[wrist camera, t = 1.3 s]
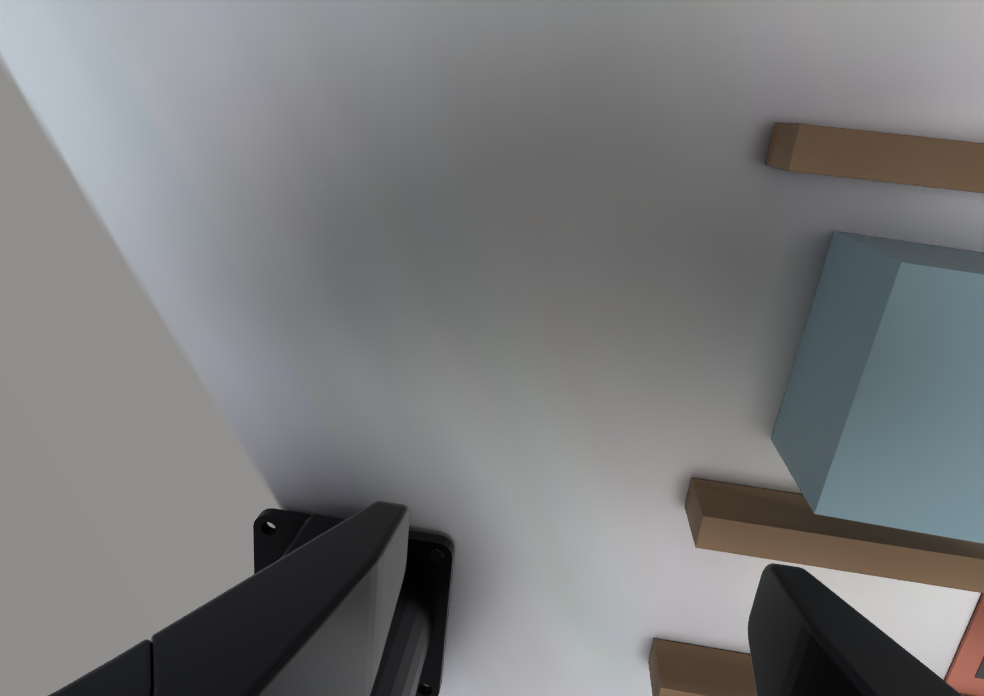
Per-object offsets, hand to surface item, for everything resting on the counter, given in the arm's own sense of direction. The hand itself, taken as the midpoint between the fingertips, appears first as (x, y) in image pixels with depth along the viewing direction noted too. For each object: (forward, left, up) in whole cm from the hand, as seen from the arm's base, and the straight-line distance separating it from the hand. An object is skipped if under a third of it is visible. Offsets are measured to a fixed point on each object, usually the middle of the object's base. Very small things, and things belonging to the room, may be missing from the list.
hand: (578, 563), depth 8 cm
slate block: (0, -9, -11) cm, 14 cm away
